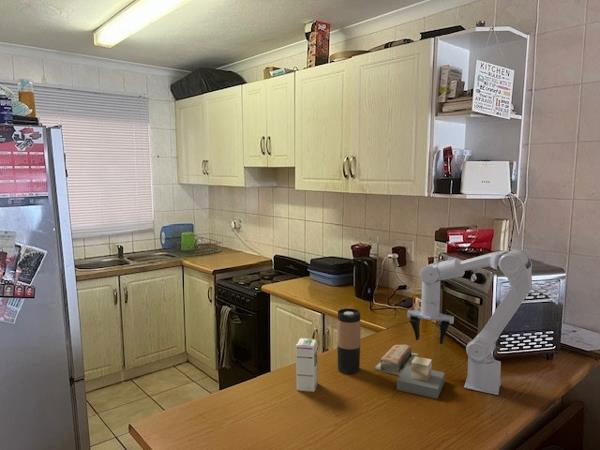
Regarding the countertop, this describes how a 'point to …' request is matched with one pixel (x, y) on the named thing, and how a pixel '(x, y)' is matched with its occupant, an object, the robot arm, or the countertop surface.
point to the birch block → (421, 368)
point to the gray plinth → (421, 383)
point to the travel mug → (348, 341)
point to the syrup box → (306, 365)
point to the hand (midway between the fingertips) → (429, 341)
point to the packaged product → (396, 359)
